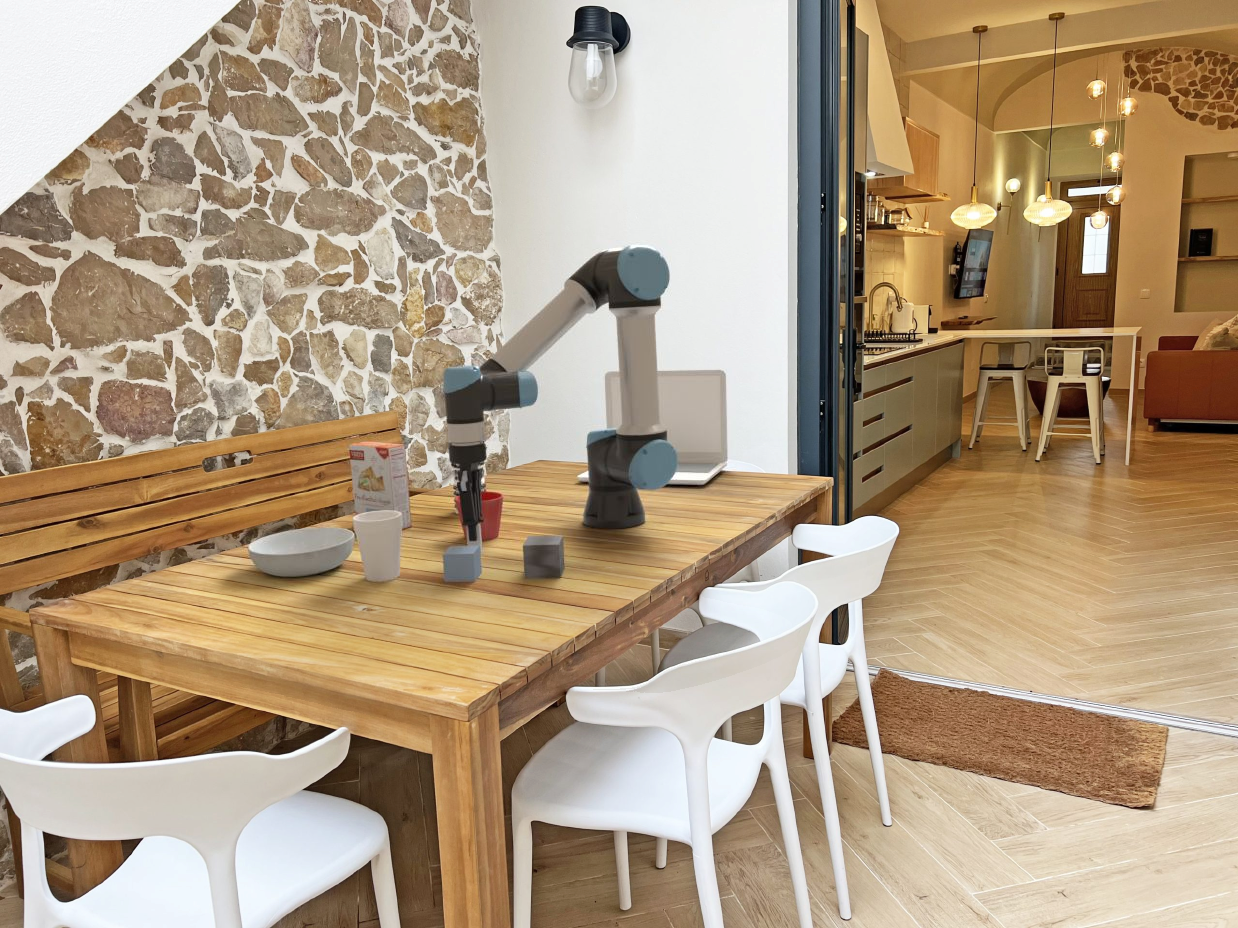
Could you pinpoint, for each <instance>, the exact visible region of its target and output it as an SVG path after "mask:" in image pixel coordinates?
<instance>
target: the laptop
mask: <svg viewBox="0 0 1238 928" xmlns="http://www.w3.org/2000/svg"><path fill="white" fill-rule="evenodd" d="M657 373H658V394H659V415H660V422H661V423H662V424H663V425H664V426H665V427H666V428H667V442H669V443H670V444H671V445H672V446H673V447H674V448H675V450H676V452H677V456H678V465H677V469H676V472H675V474H674V476H673V478H671V480H670V481H669V483H668V484H667V485H687V486H688V485H690V486H691V485H692V486H695V485H697V486H703V485H705V484H706V483H708V482H709V481H710V480H712V478H713V477H715V476H716V475H717V474H719V473H720V472H721V471H723V470H724V469H725V467H727V465H728V460H729V459H728V423H727V422H728V417H727V416H728V415H727V414H728V413H727V409H728V407H727V374H726V372H725V371H724V370H721V369H697V370H696V369H695V370H692V369H691V370H690V369H689V370H687V369H686V370H685V369H684V370H682V369H681V370H657ZM604 393H605V416H606V419H605V420H606V429H611V428H619V427H620V426H621V424H622V412H621V394H620V376H619V370H618V371H607V372H606V373H605V374H604ZM577 480H579V482H582V483H583V482H584V483H585V482H586V483H589V477H588V470H587V471H585V472H583V473H581V474H579V475H577Z"/></svg>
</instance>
